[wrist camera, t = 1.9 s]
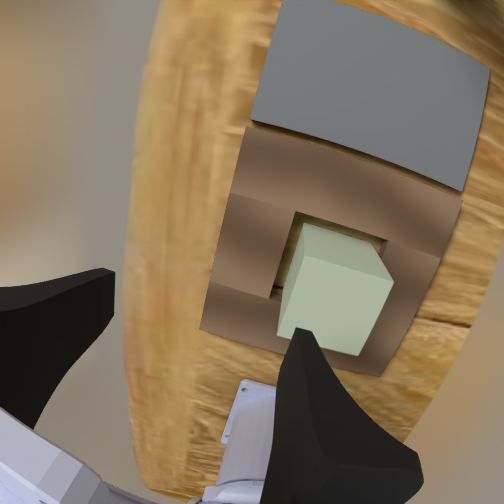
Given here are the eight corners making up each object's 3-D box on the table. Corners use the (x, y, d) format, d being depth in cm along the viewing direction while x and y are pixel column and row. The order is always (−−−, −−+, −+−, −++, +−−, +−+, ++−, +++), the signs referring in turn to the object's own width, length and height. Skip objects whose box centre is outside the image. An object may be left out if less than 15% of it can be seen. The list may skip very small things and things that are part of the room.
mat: (458, 190, 18) (461, 191, 17) (250, 119, 18) (249, 119, 18) (486, 69, 14) (490, 68, 14) (286, -7, 15) (285, -11, 15)
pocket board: (378, 368, 23) (380, 376, 22) (203, 322, 24) (199, 329, 23) (456, 197, 18) (462, 200, 17) (248, 127, 18) (246, 126, 18)
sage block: (346, 302, 21) (358, 356, 16) (283, 284, 22) (276, 335, 16) (370, 242, 20) (393, 281, 14) (304, 221, 20) (304, 255, 14)
